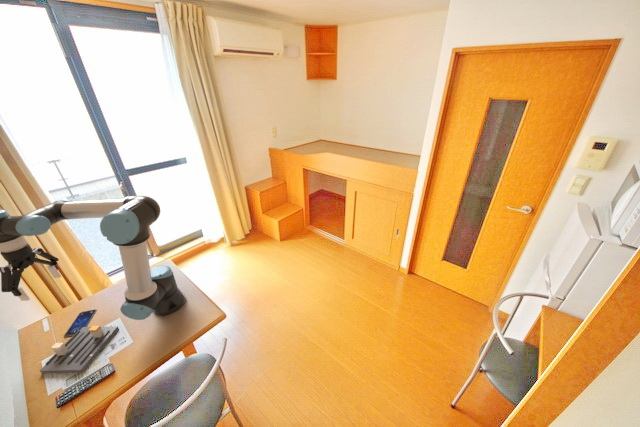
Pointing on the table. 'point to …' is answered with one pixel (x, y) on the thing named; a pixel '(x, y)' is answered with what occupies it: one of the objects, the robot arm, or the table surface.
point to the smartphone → (80, 322)
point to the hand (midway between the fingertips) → (42, 287)
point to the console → (79, 351)
